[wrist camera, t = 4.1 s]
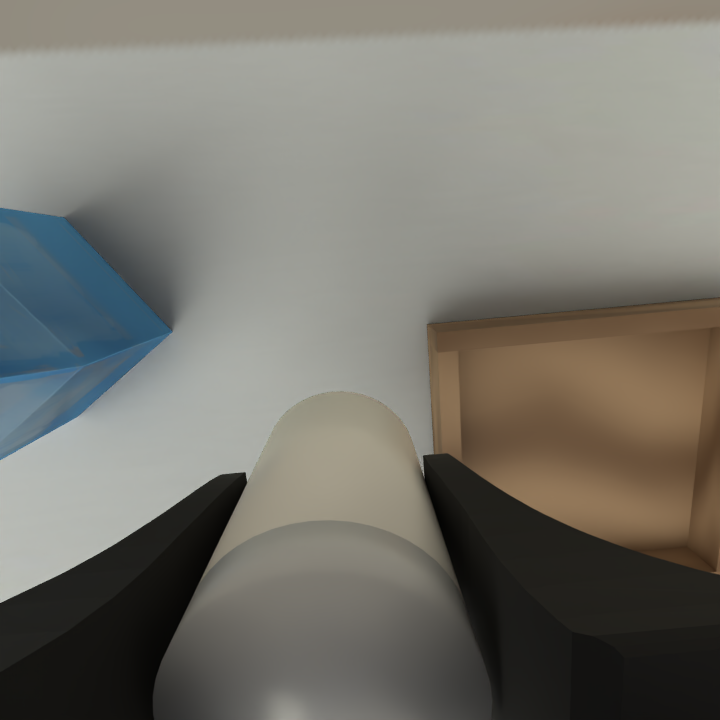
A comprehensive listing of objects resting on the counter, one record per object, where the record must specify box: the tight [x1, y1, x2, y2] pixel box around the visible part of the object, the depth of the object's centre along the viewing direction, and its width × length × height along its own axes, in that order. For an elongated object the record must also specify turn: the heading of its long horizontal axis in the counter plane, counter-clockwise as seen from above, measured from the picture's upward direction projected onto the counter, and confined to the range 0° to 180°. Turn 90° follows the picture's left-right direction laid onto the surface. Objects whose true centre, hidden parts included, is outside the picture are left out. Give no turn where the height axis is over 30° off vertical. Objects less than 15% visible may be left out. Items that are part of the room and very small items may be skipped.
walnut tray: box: [427, 298, 720, 575], centre depth 19 cm, size 13×13×2 cm
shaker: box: [153, 391, 492, 720], centre depth 9 cm, size 4×4×7 cm
